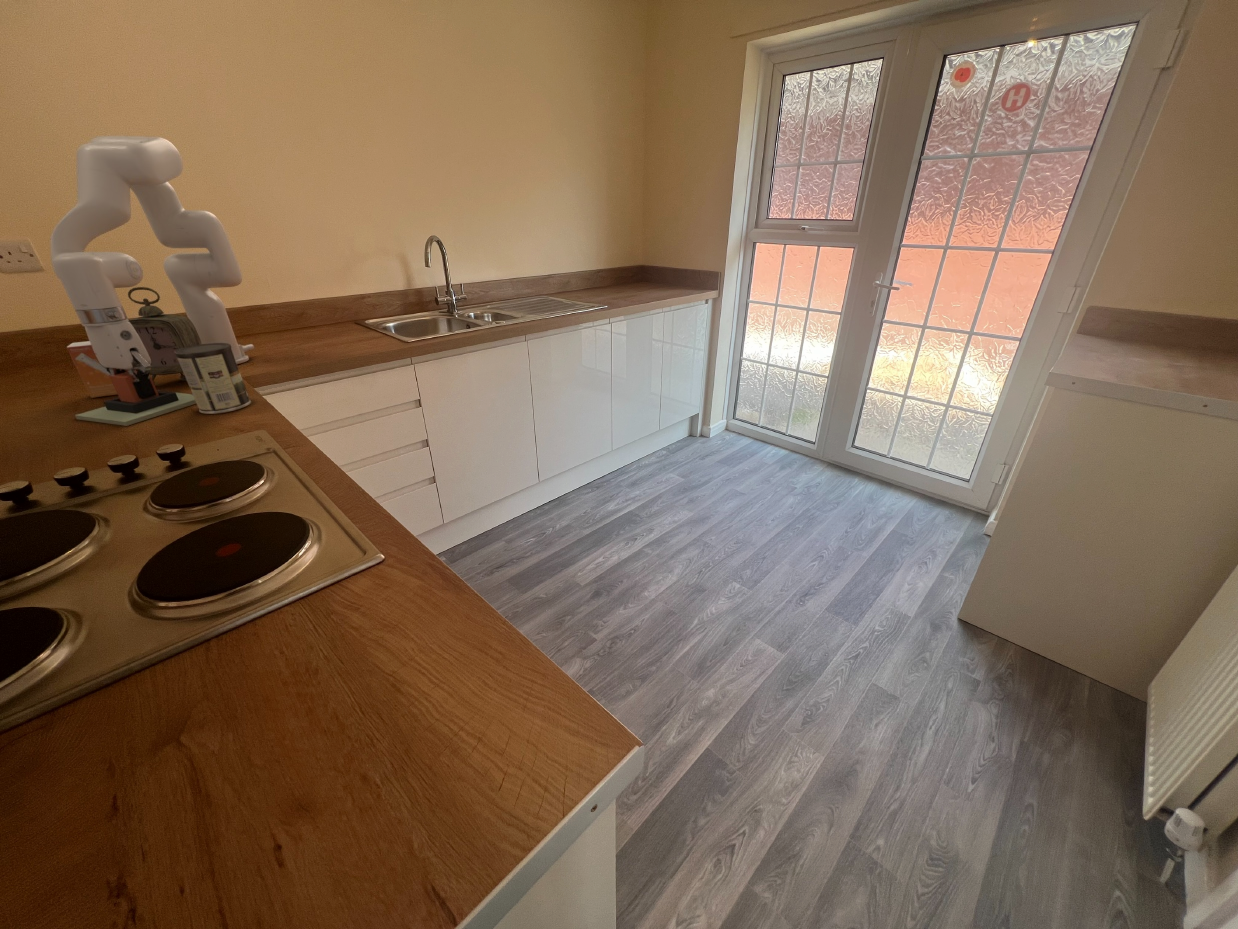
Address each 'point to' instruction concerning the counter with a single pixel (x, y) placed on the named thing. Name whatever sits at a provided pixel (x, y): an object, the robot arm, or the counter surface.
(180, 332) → the tabletop clock
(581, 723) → the counter surface
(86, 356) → the small box
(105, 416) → the back pad
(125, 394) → the pad block
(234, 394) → the coffee can
